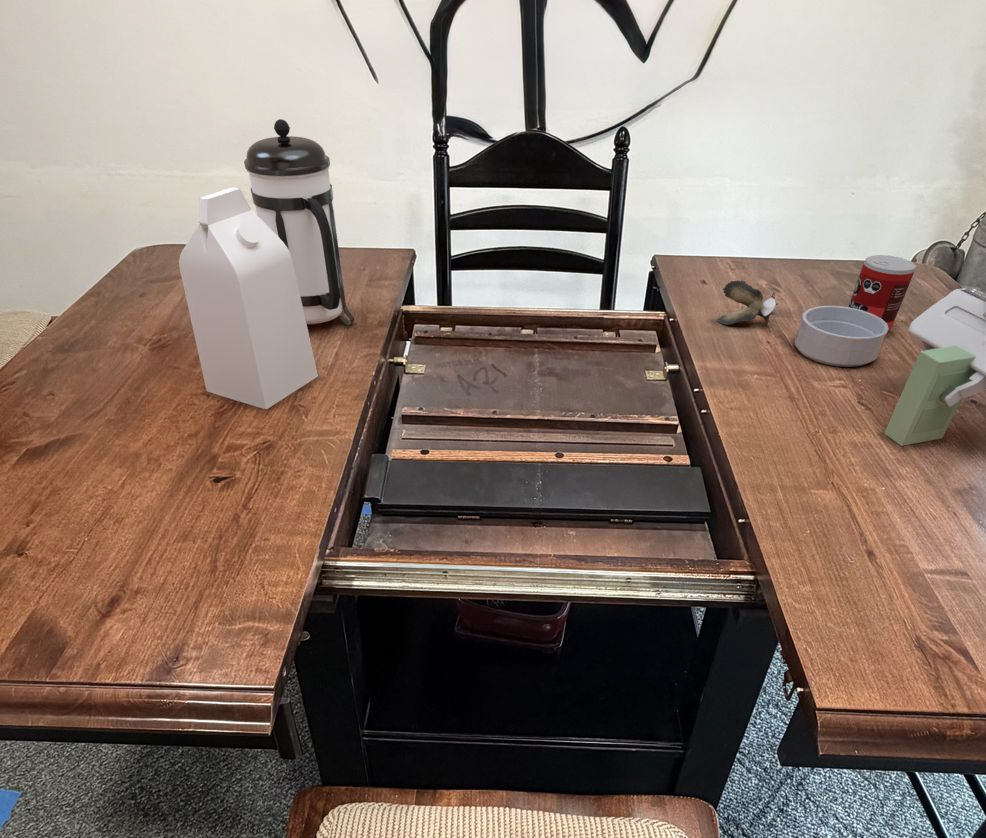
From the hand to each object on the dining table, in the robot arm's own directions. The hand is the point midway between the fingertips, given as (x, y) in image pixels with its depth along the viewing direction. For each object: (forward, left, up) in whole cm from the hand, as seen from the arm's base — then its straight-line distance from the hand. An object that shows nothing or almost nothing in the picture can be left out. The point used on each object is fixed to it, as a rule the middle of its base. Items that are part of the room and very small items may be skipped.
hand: (929, 393), depth 94 cm
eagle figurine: (+23, -34, -7) cm, 42 cm away
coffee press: (+96, -11, -7) cm, 97 cm away
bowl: (+8, -26, -7) cm, 28 cm away
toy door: (-1, 0, -7) cm, 7 cm away
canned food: (+2, -38, -7) cm, 39 cm away
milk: (+93, +13, -7) cm, 95 cm away
